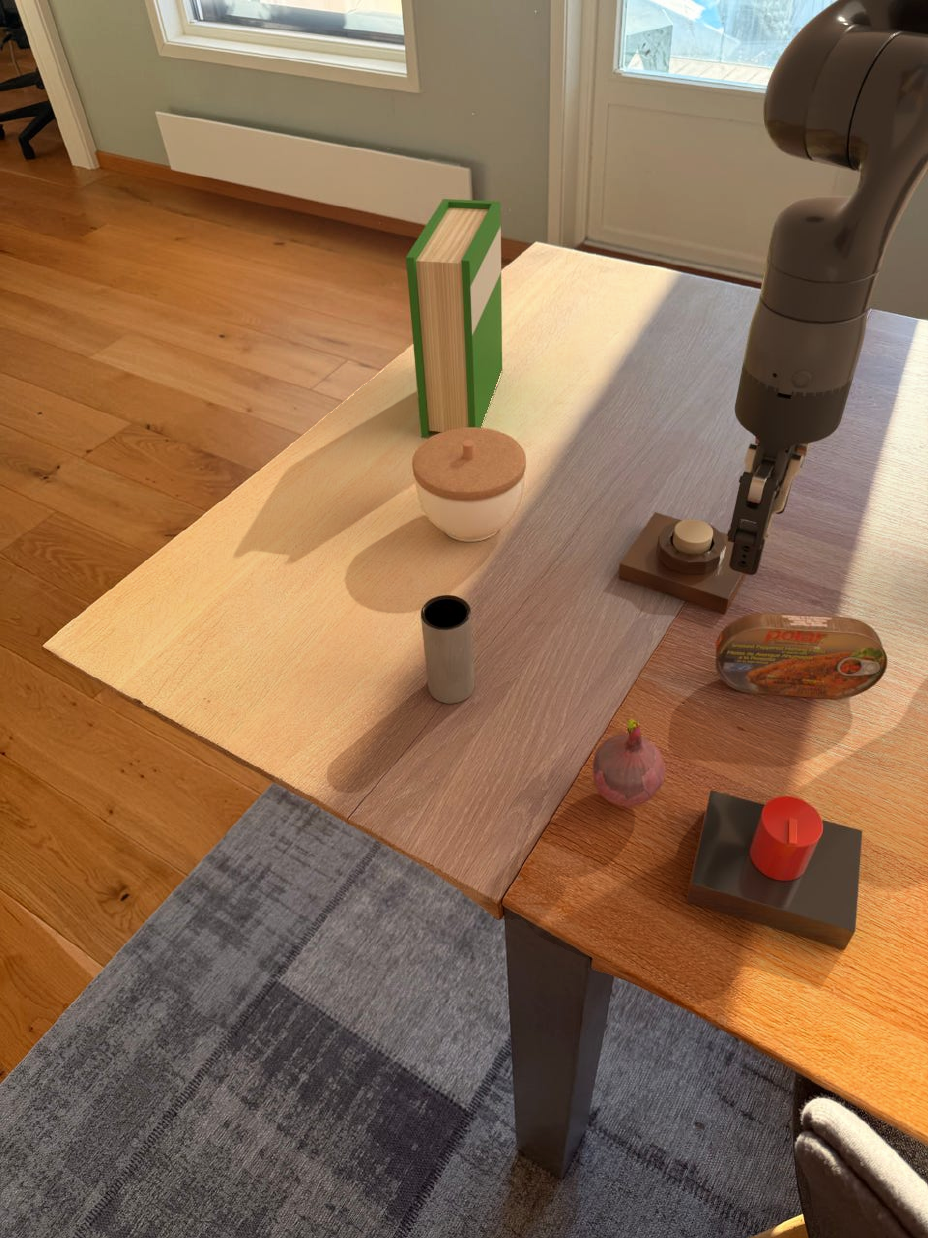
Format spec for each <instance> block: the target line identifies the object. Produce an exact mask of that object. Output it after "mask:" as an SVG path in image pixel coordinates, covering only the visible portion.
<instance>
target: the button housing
mask: <svg viewBox="0 0 928 1238" xmlns="http://www.w3.org/2000/svg"><path fill="white" fill-rule="evenodd" d="M683 520H684V519H679V518H675V517H672V516H670V515H667V514H662V513H658V512H653V514H652V516H651V517H650V519H649V520H648V522H647V523H646V525H644V527H643V529H642V531H640V534H638V536H637V537H636V539H635V541H634V542H633V543H632V545H631V546H630V548H629V549H628V551H627V552H626V554H625V555H624V557H623V558H622V560H621V561H620V562H619V569H618V576H617V577H618V579H620V580H623V581H625V582H628V583H631V584H634V585H637V586H640V587H643V588H646V589H649V590H652V591H655V592H657V593H661V594H663V595H666V596H669V597H673V598H675V599H678V600H681V601H685V602H687V603H690V604H692V605H696V606H699V607H702V608H705V609H708V610H711V611H714V612H717V613H720V614H722V615H726V614H727V613H728V610H729V608H730V606H731V605H732V603H733V601H734V599H735V597H736V595H737V594H738V591H739V589H740V588H741V586H742V584H743V582H744V581H745V579H746V576H747V575H748V574H745V573H742V572H738V571H735V570H732V569H731V568H730V566H729V563H730V558H731V553H732V549H733V544H734V543H733V542H729V541H728V536H727V534H728V533H725V532H722V531H720V530H718V529H717V528H716V527H714V525H712V524H709V523H707V524H708V525H709V526H710V527H711V528H712V530H713V537H712V542H711V547H710V549H709V550H708V551H707V552H706V553H703V554H699V555H689V554H686V553H683V552H680V551H678V550H677V549H676V548H675V547H674V545H673V535H674V529H675V526H676V525H677V524H678V523H679V522H681V521H683Z"/></svg>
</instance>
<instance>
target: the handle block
mask: <svg viewBox="0 0 928 1238" xmlns="http://www.w3.org/2000/svg"><path fill="white" fill-rule="evenodd" d="M765 805H766V803H761V802H760V803H759V802H758V801H757V802H756V801H753V800H749V799H745V798H742V797H738V796H734V795H730V794H727V793H723V792H720V791H715V790H713V789H711V790H709V793H708V798H707V802H706V805H705V809H704V815H703V818H702V824H701V828H700V832H699V837H698V843H697V847H696V852H695V856H694V861H693V866H692V869H691V875H690V880H689V884H688V889H687V893H686V899H685V902H686V903H690V904H692V905H696V906H699V907H702V908H706V909H710V910H712V911H715V912H719V913H721V914H725V915H728V916H732V917H735V918H739V919H742V920H745V921H749V922H752V923H756V924H758V925H762V926H765V927H769V928H772V929H775V930H779V931H781V932H785V933H788V934H790V935H791V934H792V935H794V936H798V937H800V938H801V937H802V938H805V939H808V940H811V941H815V942H818V943H821V944H824V945H828V946H832V947H835V948H838V949H841V950H845V951H846V949H847V947H848V946H849V944H850V942H851V940H852V938H853V937H854V935H855V933H856V928H857V927H856V926H857V918H858V917H857V916H858V915H857V914H858V900H859V886H860V874H861V873H860V871H861V857H862V845H863V833H864V832H863V830H861V829H858V828H854V827H850V826H847V825H843V824H839V823H835V822H832V821H828V820H825V819H822V823H823V832H822V835H821V837H820V839H819V842H818V844H817V846H816V848H815V851H814V853H813V855H812V858H811V860H810V862H809V864H808V867H807V869H806V871H805V872H804V873H803V875H801V876H800V877H798V878H797V879H794V880H790V881H780V880H775V879H772V878H770V877H768V876H766V875H764V874H763V873H762V872H760V871H759V870H758V869H757V867H756V866H755V865H754V863H753V861H752V859H751V856H750V845H751V842H752V839H753V836H754V833H755V830H756V827H757V824H758V822H759V819H760V816H761V813H762V810H763V808H764V806H765Z"/></svg>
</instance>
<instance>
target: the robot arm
mask: <svg viewBox="0 0 928 1238" xmlns="http://www.w3.org/2000/svg"><path fill="white" fill-rule="evenodd" d="M762 115H763V116H762V118H763V124H764V128H765V131H766V134H767V136H768V138H769V140H770V142H771V143H772V144H773V145H774V146H775V147H776V148H777V149H778V150H779V151H781V152H783V153H784V154H786V155H789V156H790V157H795V158H797V159H800V160H804V161H805V160H806V161H809V162H814V163H819V164H823V165H828V166H831V167H836V168H841V169H845V170H850V171H853V172H858V173H859V179H858V183H857V186H856V188H855V191H854V192H853V194H852V195H821V196H811V197H806V198H802V199H798V200H795V201H793V202H792V203H790V204H788V205H787V206H785V207H784V208H783V209H782V210H781V211H780V213H779V214H778V215H777V218H776V220H775V221H774V225H773V227H772V231H771V236H770V239H769V245H768V249H767V250H768V251H767V256H766V260H765V264H764V265H765V266H764V269H763V270H764V271H763V274H762V275H763V276H762V281H761V286H760V293H759V296H758V301H757V304H756V306H755V309H754V311H753V312H754V313H753V315H752V318H751V321H750V325H749V331H748V335H747V340H746V345H745V351H744V356H743V360H742V361H743V362H742V366H741V372H740V377H739V382H738V388H737V393H736V398H735V404H734V414H735V417H736V420H737V422H738V423H739V424H740V425H741V426H742V428H744V430H746V431H747V432H749V433H751V435H753V436H754V437H755V439H754V442H750V443H749V445H748V448H747V450H746V454H745V456H744V457H745V458H744V464H745V469H744V471H743V472H742V475H740V477H739V480H738V483H739V485H738V490H737V495H736V499H735V504H734V508H733V512H732V517H731V522H730V526H729V529H728V531H727V533H726V534H727V536H728V541H729V542H733V543H734V544H733V549H732V553H731V558H730V563H729V566H730V568H731V569H732V570H735V571H738V572H742V573H745V574H747V575H749V576H754V575H756V574H757V573H758V570H759V568H760V564H761V560H762V557H763V552H764V548H765V544H766V541H767V539H769V537H770V534H771V531H770V529H771V526H772V524H773V523H772V522H773V520H774V517H775V515H776V514H777V515H781V514H784V512H785V509H786V507H787V504H788V501H789V496H790V493H791V489H792V485H793V481H794V478H797V476H798V475H799V472H800V469H801V468H803V465H804V462H805V460H806V457H807V456H808V452H809V449H810V446H811V444H812V443H816V442H819V441H822V440H824V439H826V438H828V437H830V436H831V435H832V434H834V433H835V432H836V430H837V429H838V428H839V427H840V425H841V422H842V418H843V415H844V412H845V408H846V406H847V405H846V404H847V401H848V397H849V394H850V390H851V387H852V383H853V380H854V376H855V372H856V369H857V365H858V362H859V359H860V356H861V352H862V349H863V345H864V341H865V336H866V329H867V320H868V315H869V311H870V305H871V301H872V298H873V295H874V291H875V287H876V284H877V280H878V277H879V273H880V270H881V266H882V264H883V260H884V256H885V254H886V250H887V248H888V245H889V243H890V240H891V238H892V236H893V234H894V231H896V230H895V229H897V225H898V223H899V222H900V220H901V217H902V215H903V214H904V211H905V210H906V208H907V207H908V204H909V202H910V200H911V198H912V197H913V195H914V192H915V191H916V189H917V187H918V186H919V184H920V182H921V180H922V179H923V177H924V175H925V174H926V172H927V171H928V0H836V1H834V2H832V3H831V4H829V5H828V6H827V7H826V8H824V9H822V11H820V12H818V14H816V15H815V16H814V17H813V18H812V19H811V20H809V22H808V23H806V24H805V25H804V26H803V27H802V28H801V29H800V30H799V31H798V32H797V33H796V34H795V36H794V37H793V38H792V40H791V41H790V42H789V43H788V45H787V46H786V48H785V49H784V51H782V53H781V55H780V56H779V58H778V59H777V62H776V63H775V66H774V67H773V70H772V72H771V74H770V77H769V79H768V82H767V86H766V88H765V94H764V99H763V109H762Z"/></svg>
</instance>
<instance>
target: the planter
mask: <svg viewBox="0 0 928 1238" xmlns="http://www.w3.org/2000/svg"><path fill="white" fill-rule="evenodd" d="M420 621H421V622H420V623H421V631H422V640H423V648H424V649H423V650H424V659H425V667H426V679H427V687H428V691H429V693H430V695H431V697H432V698H433V699H435V701H438V702H439V703H443V704H450V705H451V704H458V703H461V702H463V701H466V700H467V699H469V697H471V695H472V694H473V692H474V690H475V664H474V663H475V662H474V646H473V645H474V643H473V624H472V609H471V606H470V604H469V603H468V602H467V601H466V600H465V599H464V598H462V597H460V596H457V595H452V594H442V595H437V596H435V597H432V598H430V599H428V600H427V601H426V602H425V603H424V604H423V606H422V607H421V610H420Z"/></svg>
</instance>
